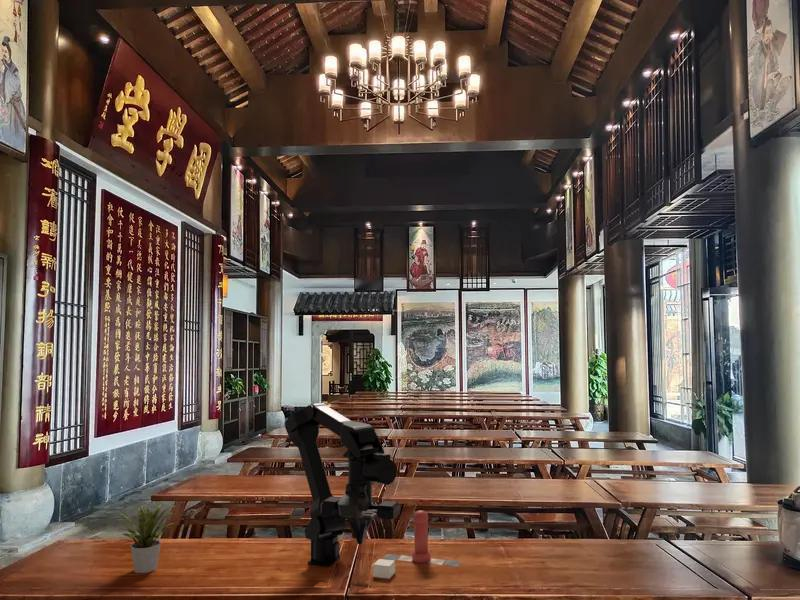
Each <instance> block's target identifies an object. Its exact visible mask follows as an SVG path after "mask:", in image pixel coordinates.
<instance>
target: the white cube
mask: <svg viewBox="0 0 800 600" xmlns="http://www.w3.org/2000/svg"><path fill="white" fill-rule="evenodd" d="M372 567H373V568H372V569H373V572H372V573H373V574H372V575H373V577H374V578H379V579H389V580H390V579H391V578H392V577H393V576H394V574H395V573H396V560H390V559H382V558H379V559H378V560H376V561H375V562H374V563H373V566H372Z"/></svg>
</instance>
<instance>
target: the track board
mask: <svg viewBox="0 0 800 600" xmlns="http://www.w3.org/2000/svg"><path fill="white" fill-rule="evenodd" d="M381 559H386V560H395V561H396V560H397V561H401V562H413V561H412V555H411V556H410V555H399V554H393V553H387V554H385V555H384V556H383V557H382V558H381ZM461 562H462V561H459V560H450V559H449V560H448V559H447V560H446V559H440V558H431V560H430V562H427V564H429V565H437V566H447V567H459V566H460V564H461Z"/></svg>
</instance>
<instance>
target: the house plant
mask: <svg viewBox="0 0 800 600" xmlns="http://www.w3.org/2000/svg"><path fill="white" fill-rule="evenodd" d="M162 504H163V503H160V504H159V505H157V506H156V509H155V510H154V511H150V509H149V507H148V505H147V504H146V502H144V506H143V505H141V506H139V505H138V506H137V514H138V526H137V525H136V524H135V522H134V521H133V520H132V518H130V517H128V516H127V515H126V514H125V513H124V514H123V513H121V512H118V514H120V515H121V516H123V517H125V518H126V519H127V520H128V521H129V522H130V524H132V526H133V528H134V529H135V530H133V529H132V528H130V527H128V526H125V529H127V531H128V533H125V532H124V533H121V534H120V536H126V537H128V538H130V539H131V540H133V543H132V544H130V551H131V558H132V565H133V571H134V573H135V574H146V573H151V572H154V571H156V570H157V569H158V562H159V556H160V550H161V544H162V542H161V540H160V538H159V536H162V535H163V534H164V531H165V530H166V529H167V528H170V529H171V527H170V525H173V524H175V522H173V523H172V522H170V523H168V524H166V525H161V524H162V522H163V521H164V520H165V519H166V518H167V517H168V516H170V515H172V514H174V512H170V513H167V511H169V510H170V509H171V508H174V507H177V506H179V505H171V506H168V507H167V508H165V510H163V511H162V512H161V513H160V511H161V506H162ZM159 513H160V514H159ZM163 515H165V516H164V517H163V518H162V516H163ZM161 518H162V519H161ZM160 519H161V521H160ZM159 521H160V522H159ZM158 522H159V524H158V525H157V523H158ZM156 526H157V527H156ZM155 527H156V529H155ZM160 529H161V531H159V530H160Z"/></svg>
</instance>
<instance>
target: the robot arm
mask: <svg viewBox="0 0 800 600" xmlns="http://www.w3.org/2000/svg"><path fill="white" fill-rule="evenodd" d="M320 426H322V427H324V428H326V429H328V430H329V431H331V432H332V433H334V435H337V436H338V438H339V441H340V443H341V444H342V445H343V446H344V447H345V448H346V449H347V450H346V451H345V452H344V453H343V454H342V456H343V458H346V459H348V461H347V462H348V464H347V465H348V466H347V469H348V471H347V475H348V477H347V478H348V479H347V483H346V485H345V492H344V494H342V495H341V497H340V496H334V495H333V493H332V492H331V488H330V484H329V481H328V477H327V474H326V471H325V468H324V464H323V460H322V457H321V454H320V450H319V447H318V443H317V441H318V437H319V434H320V428H319V427H320ZM284 428H285V430H286V433H287V435H288V438H289V441H290V442H291V443H292V444H293V445H294V446H296V447H297V449H298V451H299V455H300V458H301V463H302V466H303V469H304V470H303V471H304V473H305V476H306V480H307V485H308V487H309V491H310V495H311V498H312V504H311V509H310V512H309V515H310V521H309V522H308V523H307V526H306V527H305V528H304V535H305V538H306V539H308V540H310V558H309V560H307V564H310V565H319V566H326V567H327V566H328V567H330V566H332V565H334V564H335V563H336V562H337V561H339V560H340V559H341V554H340V552H341V551H340V545H341V544H340V542H339V536H342V535H344V530H345V527H346V522H347V521H348V523H349V524H350V526H351V528H352V532H353V534H354V536H355V540H356V543H357V545H360V546H362V545H363V543H364V541H365V539H366V535H367V533H368V530H369V527H370V525H371V522H372V521H373V520H374V518H377V517H378V519H380V520H381V519H382V520H394V519H395V518H396V517H398V516H399V515H400V514H401V505H400V503H399V502H398V501H391V500H383V501H382V502H381V503H380V504H374V501H375V499H374V498H375V497H373V486H374V483H377V484H380V485H384V486H387V485H391V484H392V483H394V481H395V480H396V478H397V474H398V467H397V466H396V463H395V461H393V460H392V459H391V454H390V453H385V449H384V447H383V445H382V443H381V441H380V439H379V437H378V435H377V432H376V430H375V428H374V426H372V425H371V424H368V423H365V422H361V421H353V420H351V419H350V418H348V417H346V416H344V415H342V414H341V413H339V412H337V411H336V410H334V409H333V408H330V407H329V406H328V404H326V403H323V402H317V403H310V404H308V405H307V406H306V407H304V408H302V409H300V410H298V411H296V412H295V413H293V414H290V415H288V417H287V418H286V420H285V423H284Z"/></svg>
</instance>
